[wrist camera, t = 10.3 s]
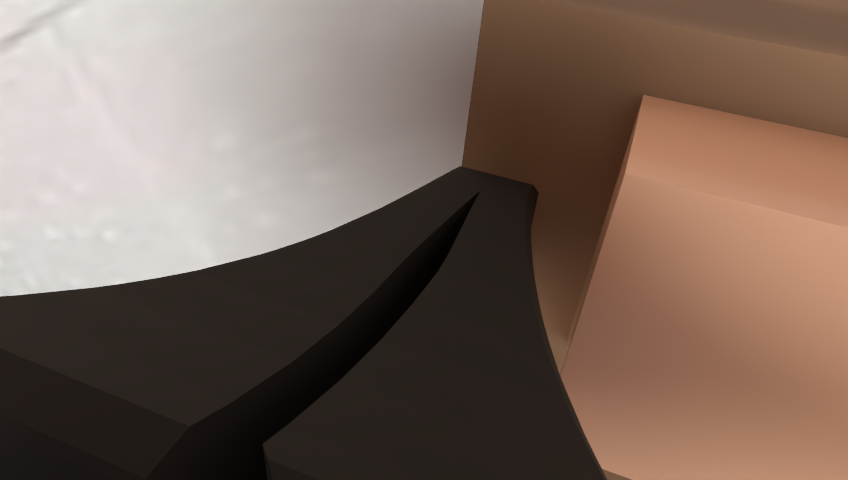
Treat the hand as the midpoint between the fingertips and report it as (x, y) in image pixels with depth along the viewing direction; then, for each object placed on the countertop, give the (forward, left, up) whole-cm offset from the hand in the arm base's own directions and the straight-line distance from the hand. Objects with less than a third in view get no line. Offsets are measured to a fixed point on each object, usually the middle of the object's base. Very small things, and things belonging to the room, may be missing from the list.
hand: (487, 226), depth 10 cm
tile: (0, -4, -1) cm, 4 cm away
